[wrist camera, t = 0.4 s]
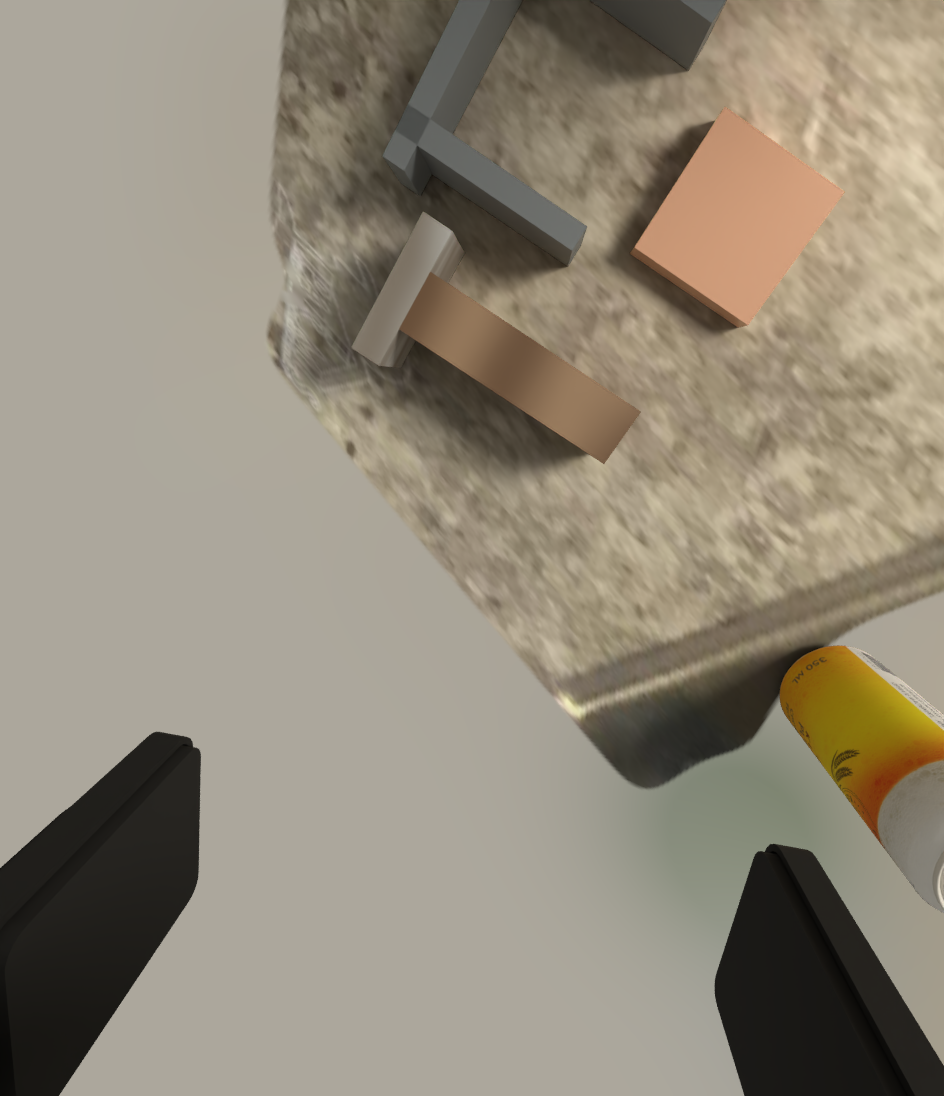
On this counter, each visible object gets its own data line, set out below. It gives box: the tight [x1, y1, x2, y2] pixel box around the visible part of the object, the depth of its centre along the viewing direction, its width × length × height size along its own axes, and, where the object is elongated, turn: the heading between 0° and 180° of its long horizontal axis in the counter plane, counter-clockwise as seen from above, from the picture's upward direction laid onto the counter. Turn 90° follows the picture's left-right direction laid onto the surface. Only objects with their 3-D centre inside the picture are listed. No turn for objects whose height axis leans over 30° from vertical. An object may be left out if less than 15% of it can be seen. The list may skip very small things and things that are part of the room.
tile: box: [630, 107, 845, 328], centre depth 30 cm, size 7×7×2 cm
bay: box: [383, 0, 727, 266], centre depth 28 cm, size 14×10×4 cm
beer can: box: [780, 646, 944, 913], centre depth 29 cm, size 6×6×15 cm
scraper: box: [351, 212, 640, 464], centre depth 31 cm, size 14×7×5 cm, turn 58°
